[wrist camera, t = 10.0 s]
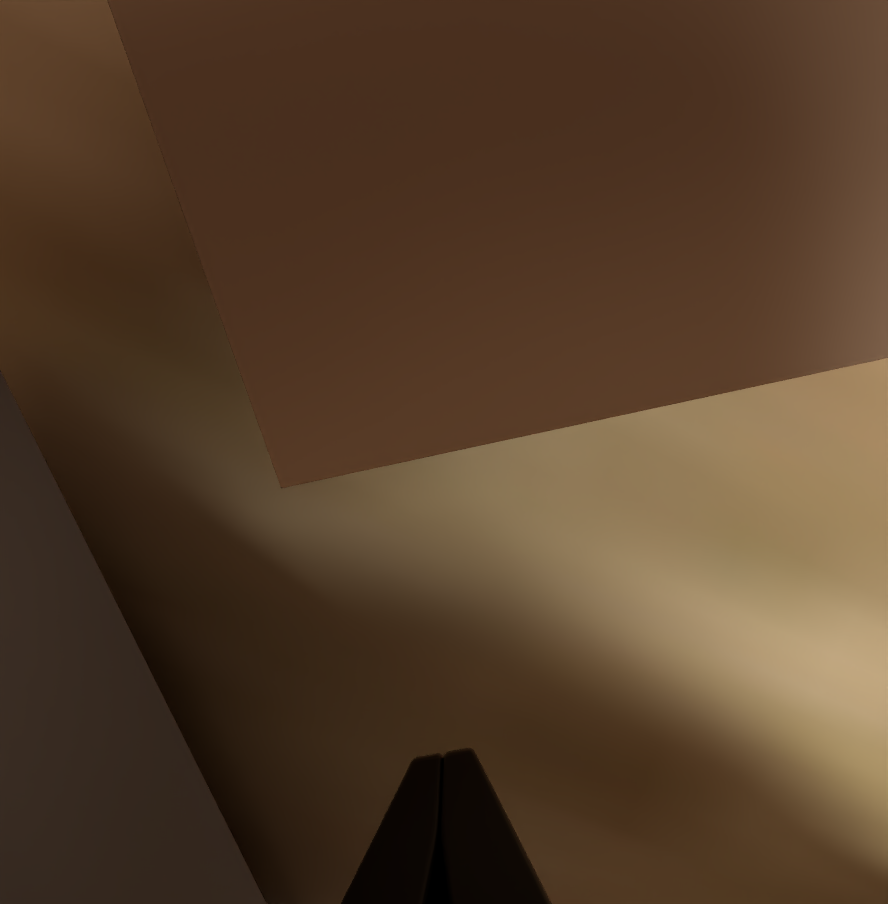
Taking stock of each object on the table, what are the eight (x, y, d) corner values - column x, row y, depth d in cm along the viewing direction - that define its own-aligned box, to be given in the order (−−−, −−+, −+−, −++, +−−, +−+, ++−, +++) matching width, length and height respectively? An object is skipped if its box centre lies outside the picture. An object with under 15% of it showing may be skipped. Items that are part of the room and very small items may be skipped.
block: (733, 281, 8) (932, 347, 5) (340, 370, 8) (280, 488, 5) (702, -246, 6) (993, -717, 3) (201, -103, 7) (-28, -380, 3)
